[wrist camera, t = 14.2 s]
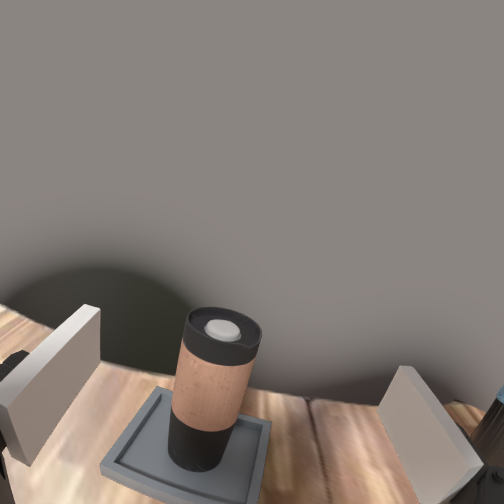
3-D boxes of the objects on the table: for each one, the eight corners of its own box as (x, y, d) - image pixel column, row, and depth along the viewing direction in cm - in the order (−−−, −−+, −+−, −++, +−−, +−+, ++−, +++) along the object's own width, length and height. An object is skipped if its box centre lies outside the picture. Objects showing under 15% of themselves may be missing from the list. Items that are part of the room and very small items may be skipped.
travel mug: (167, 428, 37) (187, 300, 33) (221, 435, 39) (257, 312, 34) (163, 469, 30) (183, 336, 26) (225, 476, 31) (270, 349, 27)
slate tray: (267, 432, 42) (271, 421, 42) (249, 526, 25) (254, 518, 24) (155, 397, 44) (157, 385, 44) (101, 474, 27) (99, 463, 26)
